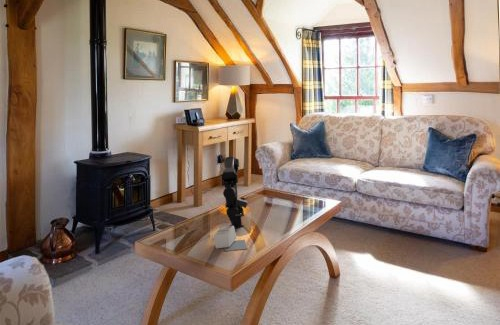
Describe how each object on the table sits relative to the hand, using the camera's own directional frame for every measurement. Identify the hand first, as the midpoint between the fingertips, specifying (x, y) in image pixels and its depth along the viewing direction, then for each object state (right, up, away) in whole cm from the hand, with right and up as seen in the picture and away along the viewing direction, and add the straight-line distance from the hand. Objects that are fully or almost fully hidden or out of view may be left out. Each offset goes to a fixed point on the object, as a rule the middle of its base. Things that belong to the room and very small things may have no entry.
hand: (232, 223), depth 212 cm
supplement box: (-2, -5, 0) cm, 5 cm away
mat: (+2, -10, -9) cm, 13 cm away
